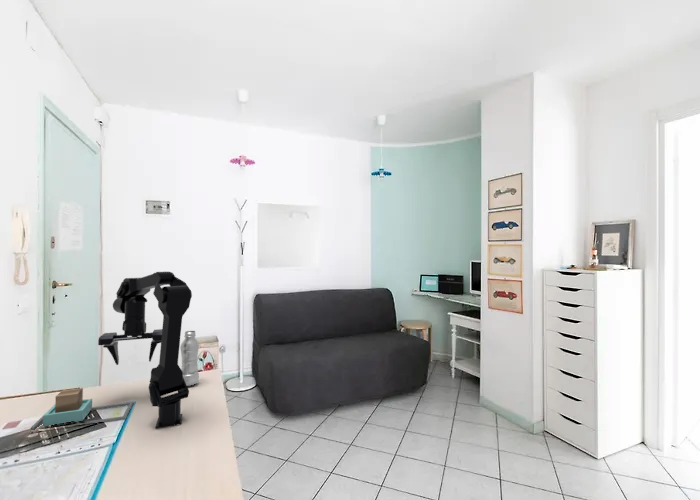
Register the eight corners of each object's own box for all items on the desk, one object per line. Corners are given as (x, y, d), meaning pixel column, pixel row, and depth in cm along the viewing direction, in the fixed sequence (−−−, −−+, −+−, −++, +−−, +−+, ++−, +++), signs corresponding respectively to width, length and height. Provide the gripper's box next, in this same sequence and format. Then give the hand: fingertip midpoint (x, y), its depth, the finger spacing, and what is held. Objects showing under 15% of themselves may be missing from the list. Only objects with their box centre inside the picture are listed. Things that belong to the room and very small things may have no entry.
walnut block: (76, 411, 99) (77, 393, 100) (55, 414, 98) (55, 396, 98) (82, 404, 104) (82, 387, 104) (61, 407, 102) (62, 390, 102)
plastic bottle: (202, 382, 132) (203, 330, 132) (192, 388, 125) (193, 333, 125) (186, 381, 132) (187, 329, 133) (175, 388, 125) (176, 333, 126)
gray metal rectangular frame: (125, 419, 101) (125, 413, 101) (30, 433, 93) (30, 427, 93) (133, 403, 112) (133, 398, 112) (49, 415, 104) (49, 409, 104)
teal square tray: (82, 423, 98) (82, 410, 98) (42, 429, 95) (43, 415, 95) (92, 410, 107) (92, 398, 107) (55, 415, 103) (56, 403, 103)
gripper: (168, 310, 125) (167, 353, 124) (107, 313, 117) (106, 359, 117) (165, 315, 115) (165, 362, 114) (98, 318, 107) (97, 369, 107)
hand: (134, 362), depth 113 cm, fingers open, 9 cm apart
